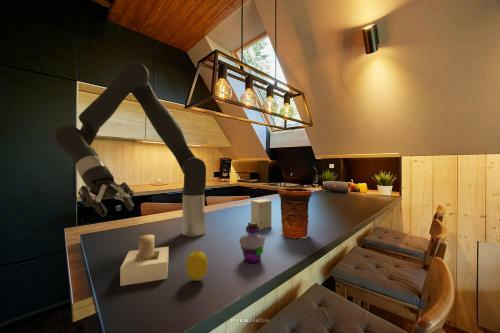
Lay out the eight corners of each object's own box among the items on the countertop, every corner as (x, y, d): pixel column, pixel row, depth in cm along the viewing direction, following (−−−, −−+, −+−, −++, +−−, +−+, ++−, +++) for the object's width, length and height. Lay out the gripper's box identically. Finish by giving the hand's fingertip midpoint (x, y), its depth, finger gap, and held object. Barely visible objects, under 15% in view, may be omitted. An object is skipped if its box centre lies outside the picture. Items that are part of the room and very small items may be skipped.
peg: (155, 267, 63) (155, 234, 63) (153, 274, 60) (153, 238, 59) (139, 269, 62) (139, 235, 62) (137, 276, 58) (137, 240, 58)
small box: (263, 224, 109) (263, 198, 109) (271, 227, 104) (272, 200, 104) (250, 226, 105) (250, 200, 104) (258, 230, 99) (259, 202, 99)
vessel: (273, 237, 90) (274, 189, 90) (281, 228, 103) (282, 187, 104) (308, 242, 85) (309, 191, 85) (312, 232, 98) (313, 188, 98)
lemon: (188, 275, 59) (188, 246, 59) (208, 274, 60) (209, 246, 59) (184, 287, 54) (184, 255, 53) (206, 286, 54) (206, 254, 54)
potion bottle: (257, 269, 63) (257, 228, 63) (233, 261, 68) (233, 223, 67) (270, 258, 70) (270, 221, 70) (248, 252, 75) (248, 218, 75)
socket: (168, 260, 68) (168, 246, 68) (167, 278, 57) (167, 261, 57) (129, 265, 64) (129, 251, 64) (120, 285, 54) (120, 268, 54)
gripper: (74, 165, 62) (100, 208, 57) (121, 164, 75) (145, 200, 70) (64, 182, 64) (88, 225, 59) (111, 179, 77) (133, 214, 73)
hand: (119, 211), depth 65 cm, fingers open, 8 cm apart
